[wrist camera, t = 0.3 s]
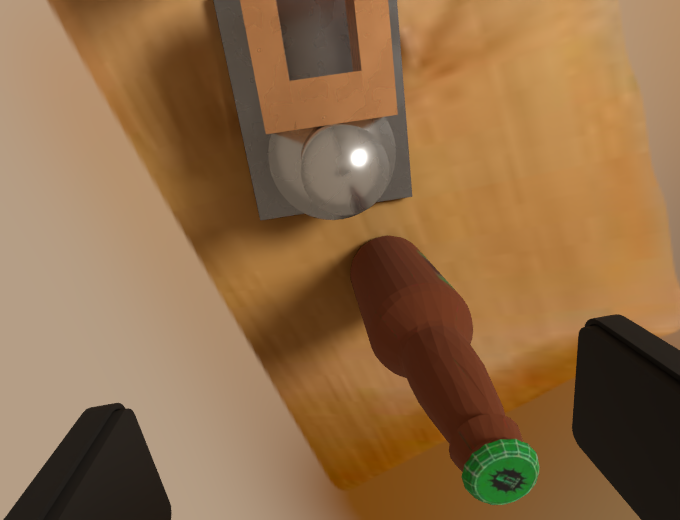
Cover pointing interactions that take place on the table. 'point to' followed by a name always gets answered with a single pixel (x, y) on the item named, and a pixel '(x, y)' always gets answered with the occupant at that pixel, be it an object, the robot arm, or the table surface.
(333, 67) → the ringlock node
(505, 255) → the table surface
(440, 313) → the bottle
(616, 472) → the robot arm
